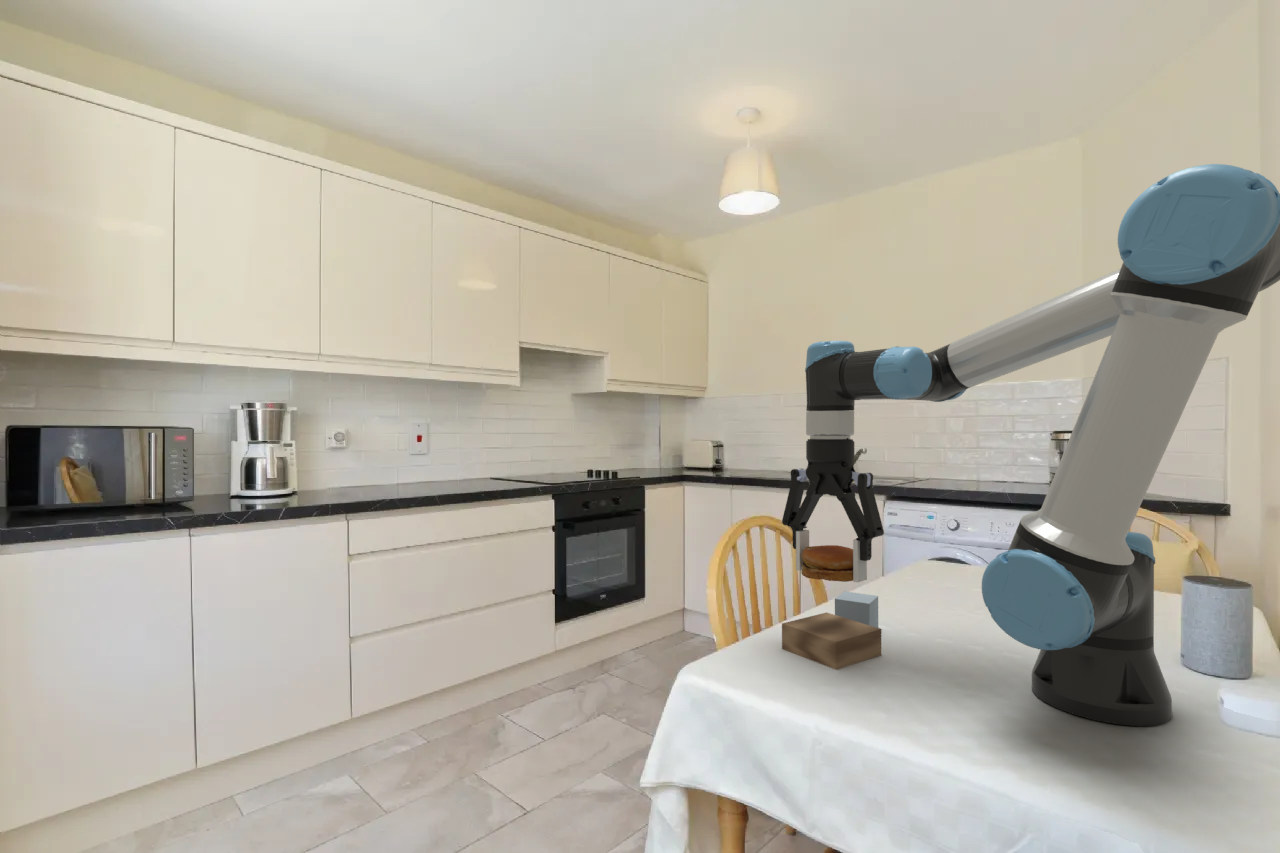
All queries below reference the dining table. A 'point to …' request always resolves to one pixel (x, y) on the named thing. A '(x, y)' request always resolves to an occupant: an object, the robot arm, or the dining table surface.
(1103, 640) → the robot arm
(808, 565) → the burger
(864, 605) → the slate cube
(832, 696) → the dining table surface
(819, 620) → the walnut block
